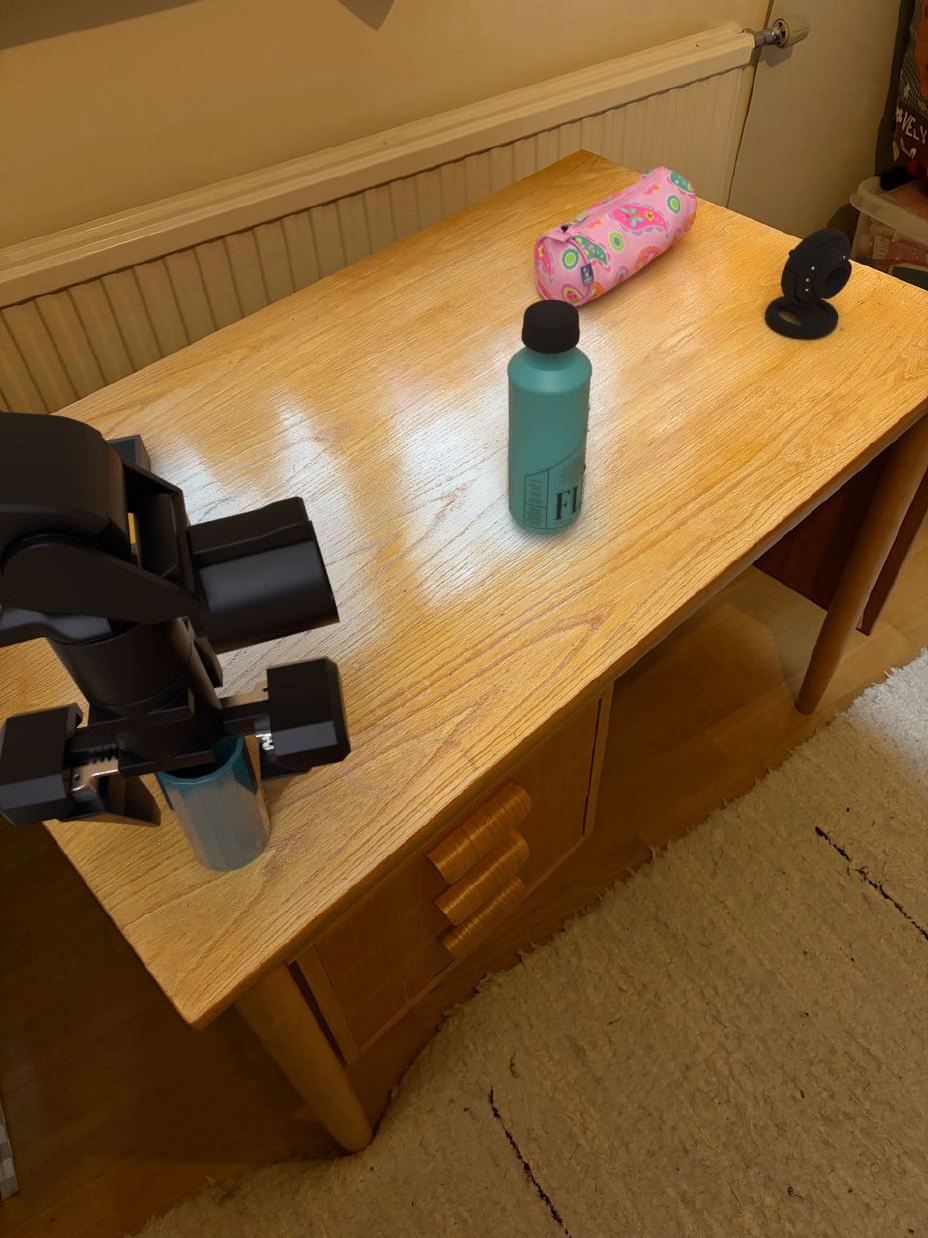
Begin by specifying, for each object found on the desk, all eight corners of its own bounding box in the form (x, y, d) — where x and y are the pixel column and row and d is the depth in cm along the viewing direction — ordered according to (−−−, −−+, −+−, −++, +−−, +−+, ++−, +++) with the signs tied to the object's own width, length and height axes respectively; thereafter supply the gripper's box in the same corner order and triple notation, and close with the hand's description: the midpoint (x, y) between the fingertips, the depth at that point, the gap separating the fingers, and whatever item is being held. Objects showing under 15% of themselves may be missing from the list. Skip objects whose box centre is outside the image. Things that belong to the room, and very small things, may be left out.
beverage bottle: (555, 559, 73) (567, 348, 58) (490, 527, 76) (486, 317, 60) (596, 515, 76) (618, 303, 61) (533, 486, 79) (539, 277, 64)
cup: (172, 852, 57) (127, 762, 49) (218, 786, 60) (184, 692, 52) (242, 884, 56) (208, 797, 47) (285, 815, 59) (261, 723, 50)
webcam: (795, 349, 91) (822, 256, 83) (748, 315, 95) (769, 225, 88) (852, 327, 93) (883, 235, 86) (804, 296, 98) (829, 205, 90)
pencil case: (583, 325, 95) (589, 245, 88) (520, 296, 100) (522, 217, 93) (697, 250, 105) (710, 173, 98) (635, 227, 109) (644, 151, 102)
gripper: (307, 515, 49) (349, 678, 61) (-36, 574, 47) (76, 731, 59) (327, 671, 42) (370, 821, 54) (-75, 747, 40) (61, 885, 52)
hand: (217, 807), depth 55 cm, fingers closed on cup, 7 cm apart
